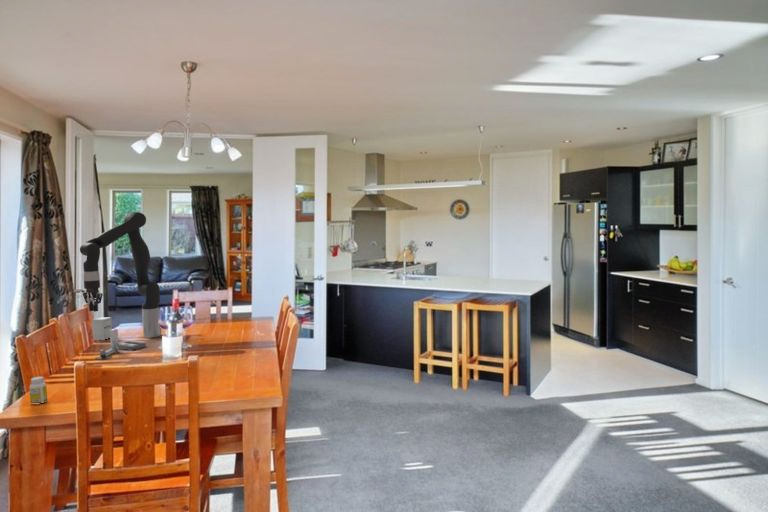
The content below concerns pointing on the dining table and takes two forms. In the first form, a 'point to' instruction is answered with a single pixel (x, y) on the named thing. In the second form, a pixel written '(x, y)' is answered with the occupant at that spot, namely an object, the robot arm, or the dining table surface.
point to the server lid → (131, 345)
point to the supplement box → (101, 328)
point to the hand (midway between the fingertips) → (93, 311)
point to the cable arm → (113, 344)
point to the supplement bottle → (38, 390)
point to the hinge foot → (103, 357)
